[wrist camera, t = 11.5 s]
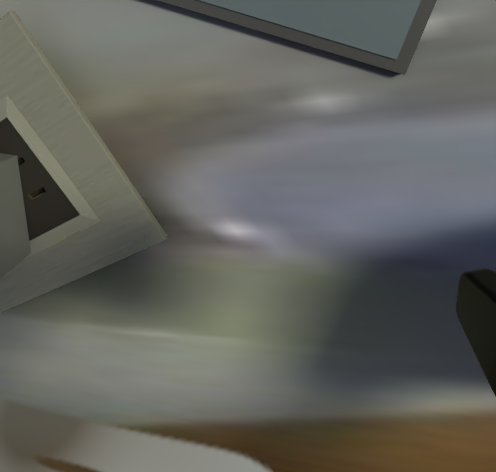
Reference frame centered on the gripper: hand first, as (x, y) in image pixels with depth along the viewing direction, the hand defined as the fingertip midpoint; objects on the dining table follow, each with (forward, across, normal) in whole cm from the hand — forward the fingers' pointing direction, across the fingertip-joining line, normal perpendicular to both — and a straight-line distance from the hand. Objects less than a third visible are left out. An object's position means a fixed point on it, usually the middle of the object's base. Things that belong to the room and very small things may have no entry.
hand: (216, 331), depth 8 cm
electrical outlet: (+15, +11, +2) cm, 18 cm away
